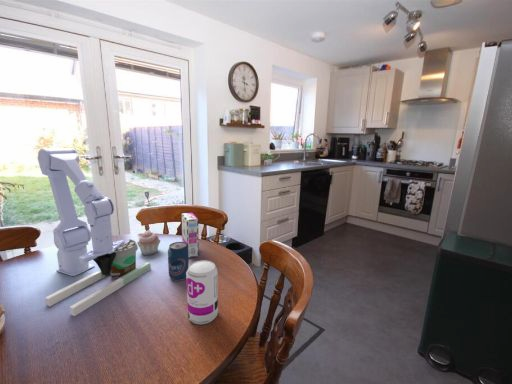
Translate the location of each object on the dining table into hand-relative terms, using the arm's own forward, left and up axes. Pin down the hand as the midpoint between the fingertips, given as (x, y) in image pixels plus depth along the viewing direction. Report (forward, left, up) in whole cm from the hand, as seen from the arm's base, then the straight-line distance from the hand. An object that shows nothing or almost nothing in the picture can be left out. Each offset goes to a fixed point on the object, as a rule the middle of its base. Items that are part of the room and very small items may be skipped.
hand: (106, 274), depth 84 cm
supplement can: (+38, -1, -4) cm, 38 cm away
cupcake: (-5, +24, -4) cm, 25 cm away
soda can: (+19, +13, -4) cm, 23 cm away
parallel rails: (0, -1, -3) cm, 3 cm away
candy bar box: (+11, +31, -4) cm, 33 cm away
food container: (0, +9, -4) cm, 9 cm away
